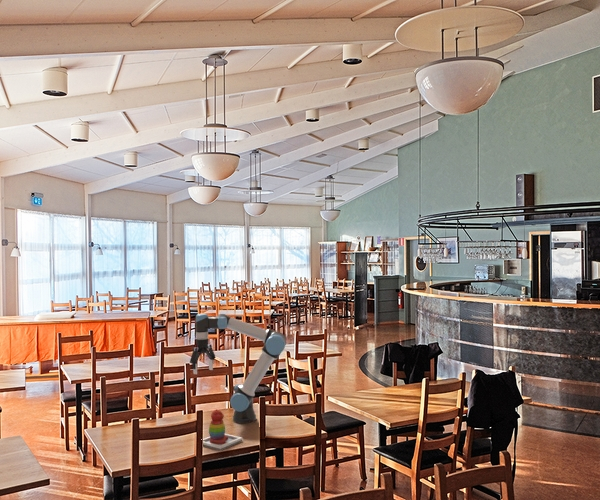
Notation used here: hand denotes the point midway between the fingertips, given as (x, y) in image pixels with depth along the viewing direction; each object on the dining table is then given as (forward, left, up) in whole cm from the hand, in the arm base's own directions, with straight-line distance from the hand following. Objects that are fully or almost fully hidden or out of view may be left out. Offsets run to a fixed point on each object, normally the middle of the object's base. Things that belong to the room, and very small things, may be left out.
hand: (203, 372), depth 370 cm
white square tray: (+17, +30, -35) cm, 49 cm away
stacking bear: (+18, +29, -34) cm, 48 cm away
